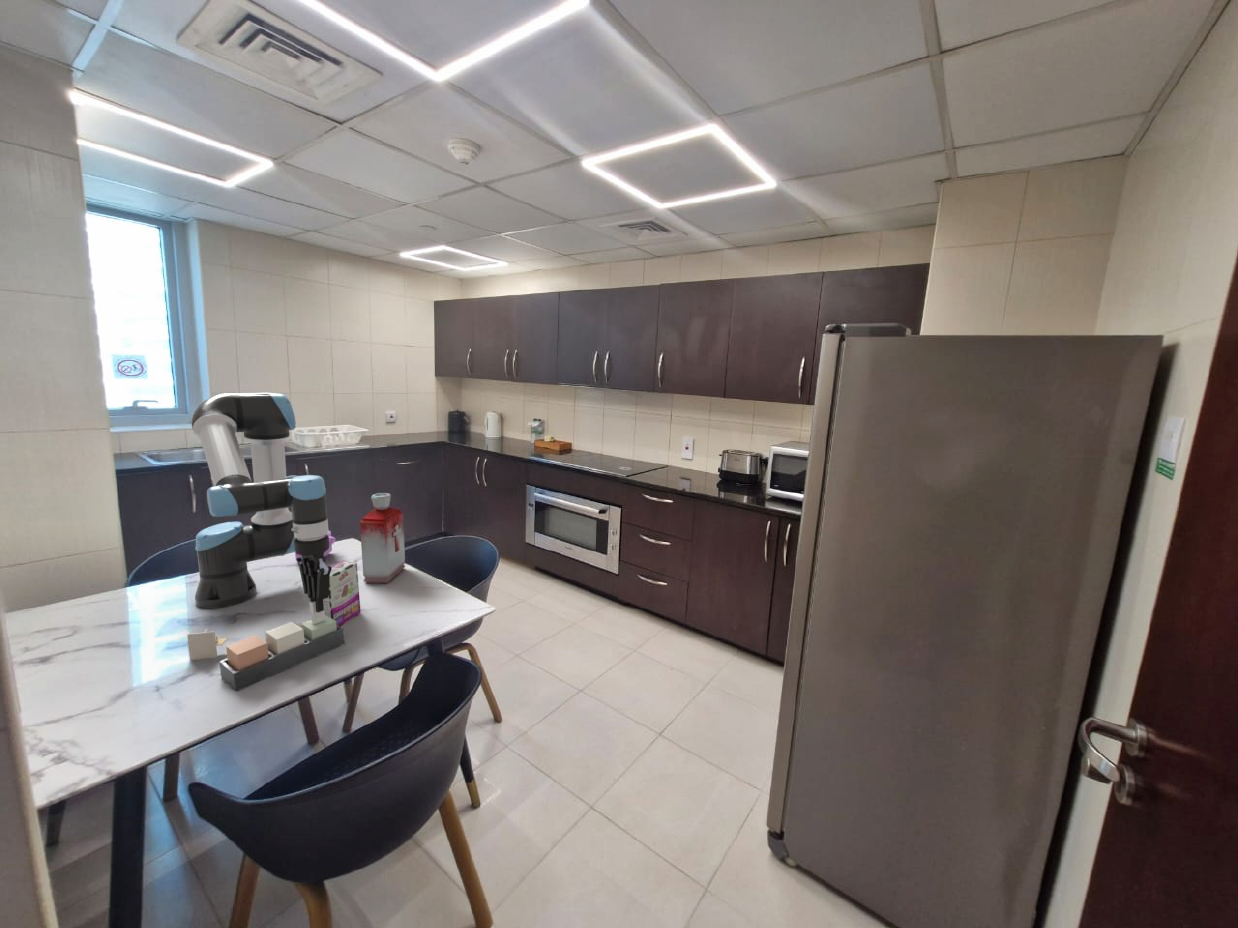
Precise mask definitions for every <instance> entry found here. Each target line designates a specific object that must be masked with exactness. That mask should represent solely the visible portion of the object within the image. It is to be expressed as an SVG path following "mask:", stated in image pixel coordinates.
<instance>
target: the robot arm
mask: <svg viewBox="0 0 1238 928" xmlns="http://www.w3.org/2000/svg"><path fill="white" fill-rule="evenodd" d="M296 423H297V422H296V417H295V413H294V409H293V405H292V404H291V401H290V399H289V398H288V397H287V395H285V394H283V393H275V392H240V393H239V392H237V393H235V392H233V393H232V392H225V393H224V392H223V393H219V394H216V395H215V394H214V395H213V396H211V397H208V398H207V399H206V400H204V401H203V402H202V403H201V404H199V406H198V407H197V408H196V410H194V412H193V414H192V418H191V428H192V431H193V434H194V435H195V437H196V438H198V439H199V440H200V442H201V445H202V449H203V453H204V456H205V458H206V463H207V466H208V470H209V473H210V476H211V480H212V483H213V486H211V487H209V488H208V489H207V490H206V500H207V506H208V511H209V514H210V515H211V516H212V517H213V518H220V517H221V518H222V517H235V516H239V515H245V514H253V513H255V514H254V515H253V516H252V517H251V518H250V524H248V525H244V524H243V523H242V522H241V521H227V522H222V523H218V524H217V523H216V524H214V525H211V526H208V527H206V528H203V529H201V530H200V531H199V532H198V533H197V534H196V536H195V548H194V549H195V551H196V554H197V561H198V562H197V563H198V571H199V580H198V581H199V582H198V585H197V587H196V588H197V589H196V592H195V595H194V600H195V605H196V606H197V607H199V608H202V609H216V608H217V609H219V608H224V607H229V606H233V605H238V604H240V603H242V602H245V601H247V600H249V599H251V598H253V597H254V596H255V595H256V594H257V592H258V591H257V584H256V582H255V581H254V579H253V577H252V575H251V573H250V571H249V570H248V569H249V568H248V563H249V562H253V561H254V562H255V561H259V560H265V559H271V558H276V557H283V556H286V555H288V554H292V553H293V554H294V553H296V554H298V555H301V556H302V557H300V558H297V561H296V562H297V565H298V568H299V573H300V578H301V584H302V587H303V592H304V595H306V596H307V598H308V599H309V608H310V609H309V610H310V620H311V622H312V623H313V624H317V623H320V622H322V621H325V611H324V599H326V598H328V596H329V580H330V572H331V569H332V568H331V567H332V566H331V565H329V566H327V565H326V557H324V552H325V551H327V550H328V549H329V536H328V535H327V534H328V532H329V531H330V530H329V520H328V508H327V497H326V492H327V488H326V485H325V479H324V477H322V476H320V475H315V474H314V475H313V474H307V475H288V476H287V466H286V450H285V449H286V448H285V441H286V440H288V439H289V438H290V437H291V436H290V431H294V430H295V429H296V428H297V426H296ZM236 433H243V438H244V439H245V440H246V441H248V442H250V449H251V452H250V453H251V462H252V465H251V466H252V473H253V474H252V475H253V476H252V477H253V481H252V478H251V475H250V473H249V469H248V466H247V464H246V462H245V459H244V455H243V453H242V449H241V448H240V444H239V441H238V438H237V436H236ZM289 508H291V509H290V510H289Z"/></svg>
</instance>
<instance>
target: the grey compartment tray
mask: <svg viewBox="0 0 1238 928" xmlns="http://www.w3.org/2000/svg"><path fill="white" fill-rule="evenodd" d="M336 626H337V630H336V631H334V632H331V633H329V634H326V635H324V636H322V637H319V638H317V639H314V640H312V641H310V640H309V639H307V638H305V637H304V644H302V645H300V646H297V647H295V648H292V649H290V650H287V651H285V652H282V653H280V654H278V655H274V654H273V653H271V652H270V651H269V650H268V657H269V658H268V659H265V660H263V661H261V662H258V663H256V664H253V665H251V666H248V667H246V668H243V669H241V670H239V671H235V670H233V669H232V668H231V667H230V666H229V665H228V657H227V658H225V659H222V660H220V661H219V669H220V677H221V678H220V679H221V680H222V681H223V682H225V683H226V684H227V685H228V686H229V687H230V688H231V689H232V690H234V691H235V692H238V691H240V690H241V691H242V690H243V689H245V688H248V687H249V686H252V685H254V684H256V683H259V682H261V681H264V680H266V679H268V678H270V677H273V676H274V675H276V674H279V673H280V674H281V672H285V671H287V670H288V669H291V668H293V667H295V666H298V665H299V664H302V663H304V662H307V661H309V660H312V659H314V658H316V657H319V656H321V655H322V654H325V653H327V652H329V651H331V650H334V649H336V648H338V647H341V646H343V645H345V643H346V642H345V630H344V628H343V627H342V626H338V625H336Z"/></svg>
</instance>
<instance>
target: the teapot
mask: <svg viewBox="0 0 1238 928" xmlns="http://www.w3.org/2000/svg"><path fill="white" fill-rule="evenodd" d="M328 531H329V532H328V534H327V535H328V536H329V549H328V550H327V551H325V552H324V557H325V558H327V557H328V556H329V554H330V552H332V551H333V546H332V545H334V544H335V542H336V538H335V537H334V536H332V533H331V532H332V531H331V530H328ZM294 553H295V552H294ZM294 556H295V562H297V558H300V557H302V556H301V555H298V554H296V553H295V555H294Z"/></svg>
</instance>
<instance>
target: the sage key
mask: <svg viewBox="0 0 1238 928" xmlns="http://www.w3.org/2000/svg"><path fill="white" fill-rule="evenodd" d="M300 627H301V628H302V629H303V631H304V637H305V638H307V639H309V640H310V641H312V640H314V639H317V638H319V637H322V636H324V635H326V634H329V633H331V632H334V631H336V630H337V626H336V621H335V620H333V619H331V618H330V617H328V616H326V615H325V621H322V622H320V623H317V624H313V623H312V622H311V619H309V620H306V621H304V622H301V623H300Z"/></svg>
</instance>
